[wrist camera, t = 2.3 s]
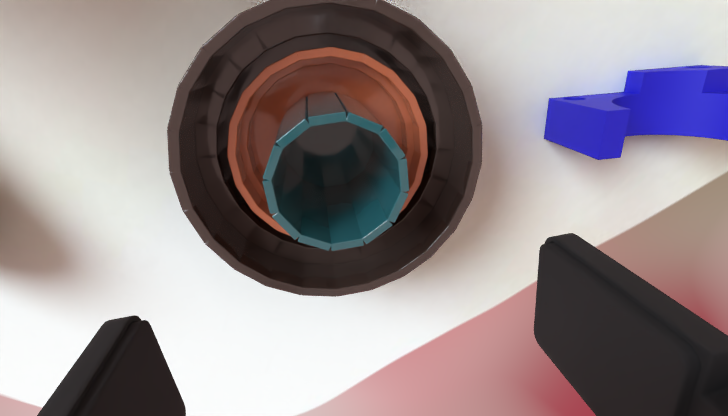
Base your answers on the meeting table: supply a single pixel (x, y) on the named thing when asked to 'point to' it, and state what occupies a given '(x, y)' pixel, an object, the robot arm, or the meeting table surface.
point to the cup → (334, 173)
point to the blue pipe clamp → (643, 110)
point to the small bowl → (312, 75)
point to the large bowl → (272, 43)
